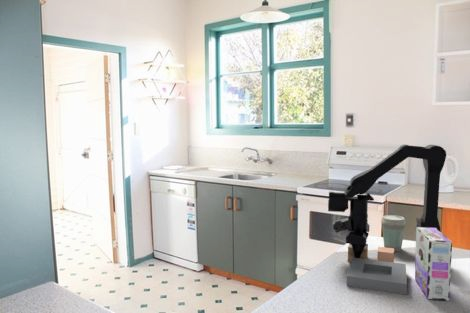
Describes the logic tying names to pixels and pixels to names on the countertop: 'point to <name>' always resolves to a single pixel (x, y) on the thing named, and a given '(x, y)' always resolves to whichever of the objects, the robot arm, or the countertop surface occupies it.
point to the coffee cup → (393, 231)
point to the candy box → (433, 263)
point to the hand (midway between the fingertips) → (357, 256)
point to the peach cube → (385, 254)
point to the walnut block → (351, 253)
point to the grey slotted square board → (377, 275)
